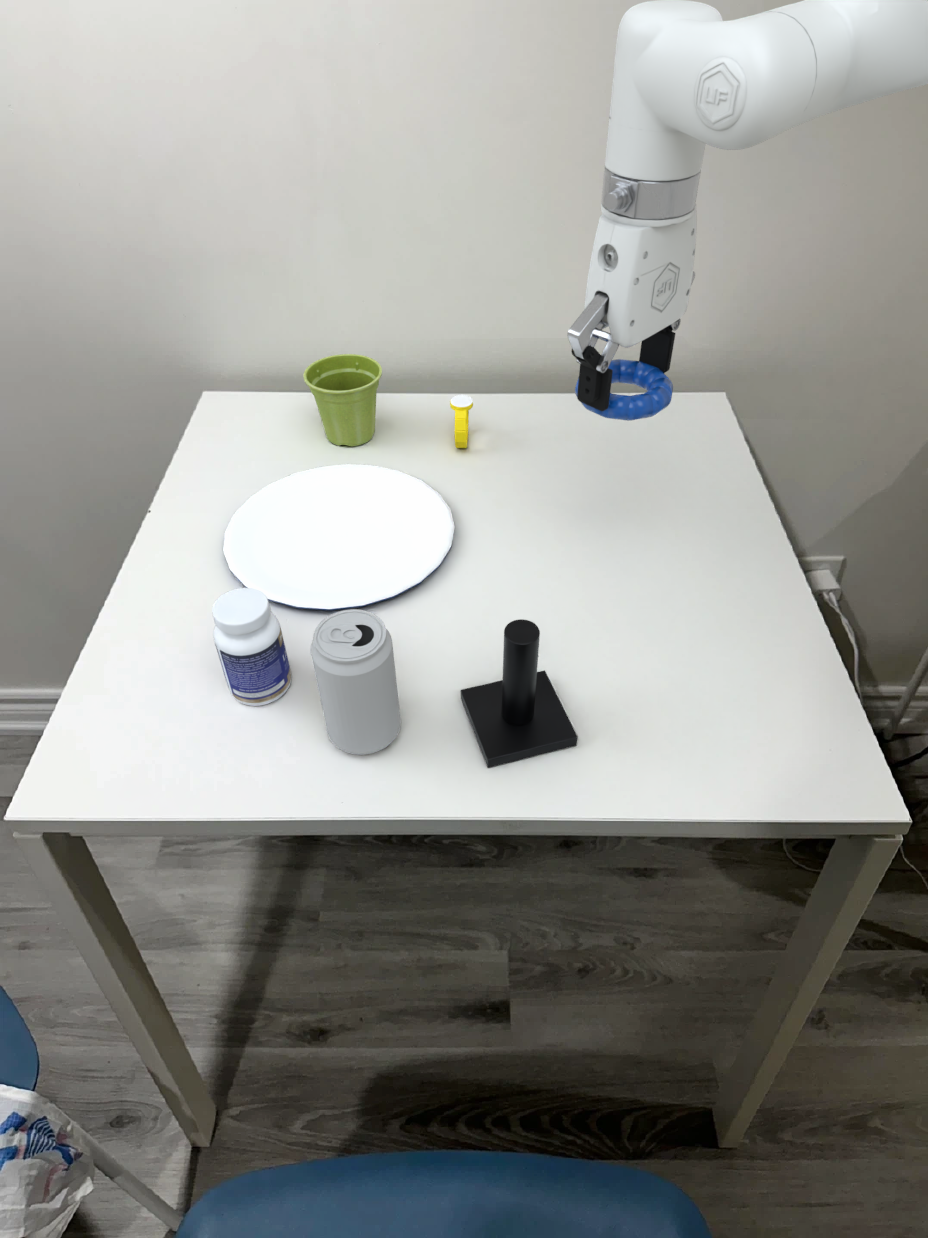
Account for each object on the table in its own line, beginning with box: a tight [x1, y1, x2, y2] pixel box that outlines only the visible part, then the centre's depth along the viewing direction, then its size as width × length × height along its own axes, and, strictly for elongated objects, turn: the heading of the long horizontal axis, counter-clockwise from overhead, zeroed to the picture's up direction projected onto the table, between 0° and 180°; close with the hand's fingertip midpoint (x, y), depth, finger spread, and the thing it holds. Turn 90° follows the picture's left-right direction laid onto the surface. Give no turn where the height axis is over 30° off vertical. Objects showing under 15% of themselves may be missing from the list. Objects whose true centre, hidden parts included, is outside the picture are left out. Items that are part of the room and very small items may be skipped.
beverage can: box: [310, 608, 402, 756], centre depth 70 cm, size 6×6×12 cm
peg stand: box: [460, 618, 579, 769], centre depth 70 cm, size 8×8×11 cm
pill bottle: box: [211, 587, 292, 707], centre depth 74 cm, size 6×6×10 cm
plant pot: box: [302, 353, 383, 447], centre depth 105 cm, size 9×9×9 cm
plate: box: [222, 463, 456, 611], centre depth 93 cm, size 25×25×1 cm
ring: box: [574, 358, 674, 422], centre depth 80 cm, size 9×9×2 cm
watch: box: [449, 394, 474, 449], centre depth 104 cm, size 6×3×6 cm, turn 177°
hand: (623, 385), depth 80 cm, fingers closed on ring, 9 cm apart
